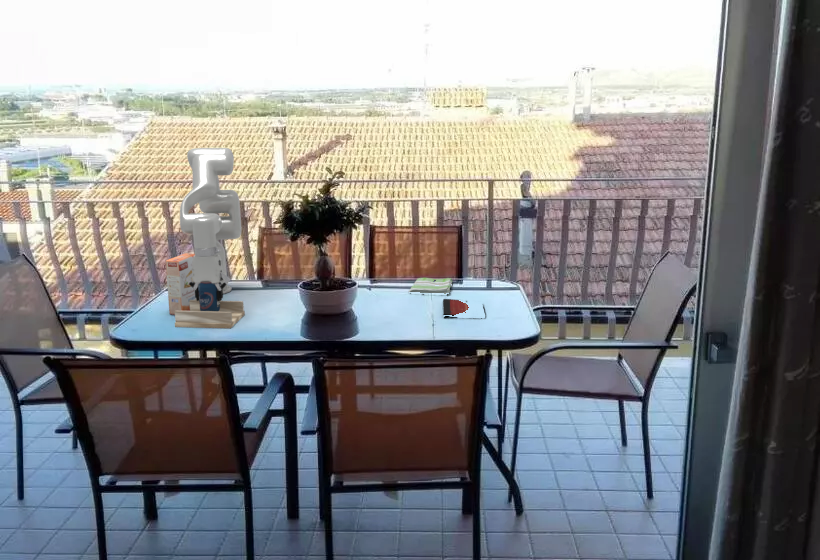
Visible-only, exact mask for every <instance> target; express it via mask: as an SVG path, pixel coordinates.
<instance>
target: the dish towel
mask: <svg viewBox="0 0 820 560" xmlns="http://www.w3.org/2000/svg"><path fill="white" fill-rule="evenodd" d="M434 280H436V281H435V282H433V281H434ZM452 282H453V283H454V281H453V278H451V277H450V278H449V277H447V278H436V279H435V278H431V277H418V278H417V279H416V280H415V282H414V283H413V284H412V286H411V287H410V289H409V290H408V293H409V292H420V293H444V294H446V293H449V292H450V291H451V290H450V287H451V288H452V286H451V284H452ZM435 285H439V286H435ZM452 285H453V284H452ZM449 294H450V293H449Z"/></svg>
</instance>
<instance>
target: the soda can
mask: <svg viewBox="0 0 820 560" xmlns="http://www.w3.org/2000/svg"><path fill="white" fill-rule="evenodd" d="M198 290H199V303H200V311H219V310H220V301H217V290H218V289H217V287H216V285H215V284H213V283H212V282H200V283H199V285H198Z"/></svg>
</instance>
